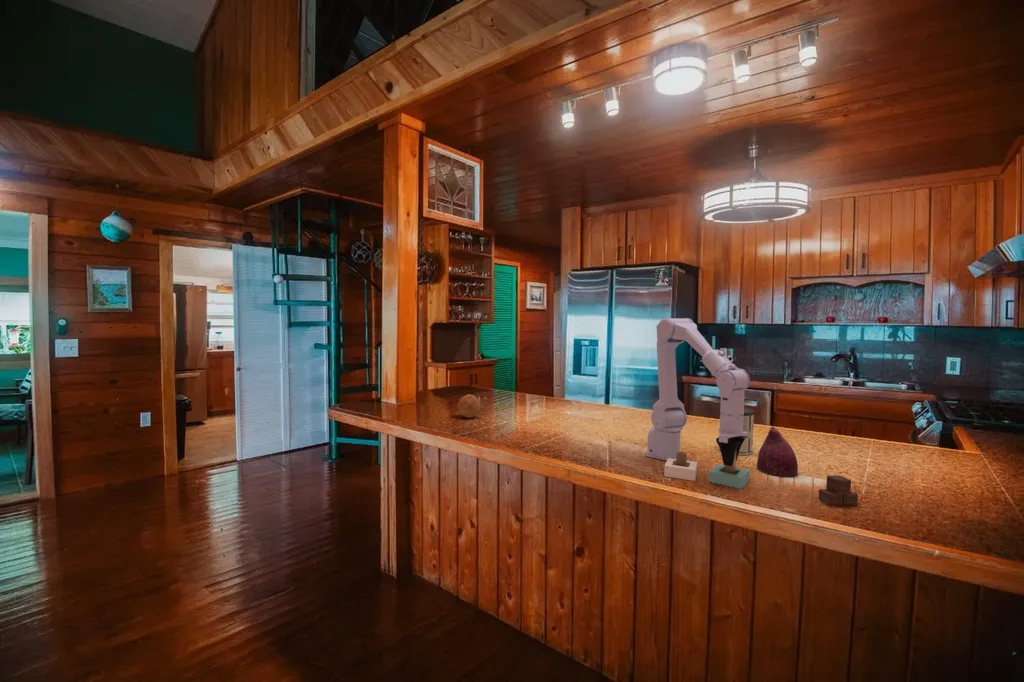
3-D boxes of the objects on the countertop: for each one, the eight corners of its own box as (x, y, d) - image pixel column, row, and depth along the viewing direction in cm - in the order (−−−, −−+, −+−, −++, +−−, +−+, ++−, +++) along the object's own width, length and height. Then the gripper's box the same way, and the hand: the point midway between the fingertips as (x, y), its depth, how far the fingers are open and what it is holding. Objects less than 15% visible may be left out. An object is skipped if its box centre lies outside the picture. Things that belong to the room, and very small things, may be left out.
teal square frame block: (708, 481, 127) (709, 471, 126) (718, 474, 133) (718, 464, 133) (740, 489, 121) (741, 478, 121) (748, 481, 128) (749, 470, 127)
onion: (455, 415, 204) (455, 393, 204) (477, 414, 207) (477, 392, 207) (459, 420, 195) (459, 397, 194) (482, 419, 198) (483, 396, 197)
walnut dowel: (674, 474, 132) (674, 453, 132) (677, 472, 134) (678, 451, 134) (683, 476, 131) (684, 455, 130) (687, 474, 133) (688, 453, 132)
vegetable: (777, 489, 131) (774, 440, 127) (749, 472, 141) (746, 426, 137) (807, 477, 133) (805, 429, 130) (778, 461, 143) (775, 416, 139)
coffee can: (714, 445, 162) (715, 405, 162) (745, 447, 161) (747, 406, 161) (724, 454, 152) (726, 411, 151) (757, 456, 151) (759, 412, 150)
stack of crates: (839, 492, 123) (841, 466, 122) (887, 516, 108) (889, 487, 107) (783, 491, 122) (784, 465, 122) (823, 516, 107) (825, 487, 107)
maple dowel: (722, 472, 127) (723, 442, 126) (726, 469, 129) (727, 440, 128) (733, 474, 125) (734, 444, 124) (736, 472, 127) (738, 442, 127)
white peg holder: (664, 476, 131) (664, 465, 130) (667, 468, 138) (668, 458, 138) (694, 481, 127) (695, 470, 127) (696, 472, 134) (697, 461, 134)
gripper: (740, 420, 118) (738, 473, 119) (754, 412, 129) (752, 460, 130) (711, 416, 122) (709, 467, 123) (727, 408, 134) (725, 455, 134)
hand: (729, 463), depth 127 cm, fingers closed on maple dowel, 3 cm apart
